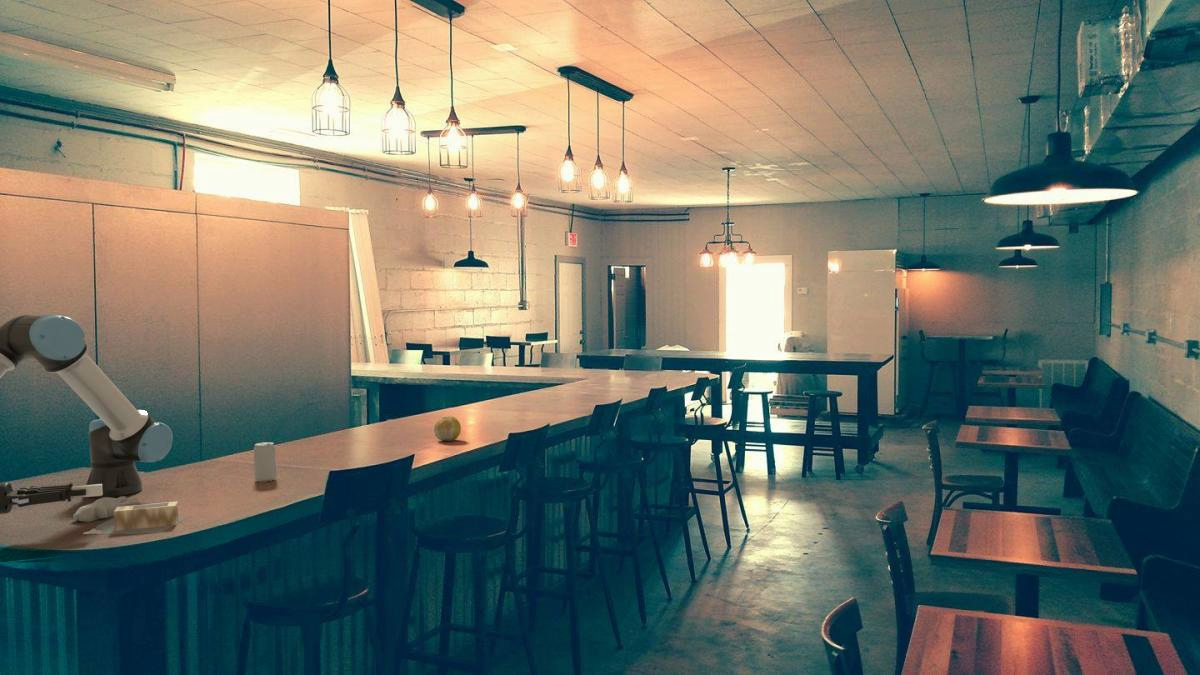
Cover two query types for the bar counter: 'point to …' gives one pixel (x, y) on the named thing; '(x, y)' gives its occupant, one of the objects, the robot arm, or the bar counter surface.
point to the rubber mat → (110, 529)
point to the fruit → (447, 428)
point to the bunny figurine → (101, 508)
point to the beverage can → (264, 462)
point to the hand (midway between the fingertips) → (101, 489)
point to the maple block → (146, 516)
